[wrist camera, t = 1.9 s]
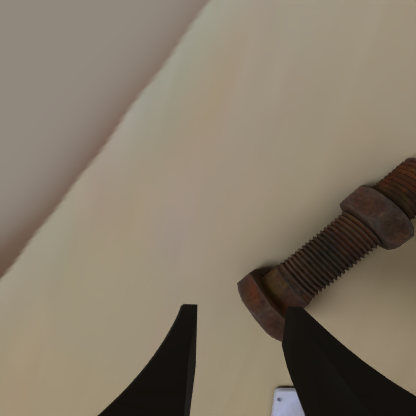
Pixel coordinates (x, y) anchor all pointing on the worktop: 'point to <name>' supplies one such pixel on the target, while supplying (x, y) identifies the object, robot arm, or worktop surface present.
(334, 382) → the robot arm
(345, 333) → the worktop surface
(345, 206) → the bolt
